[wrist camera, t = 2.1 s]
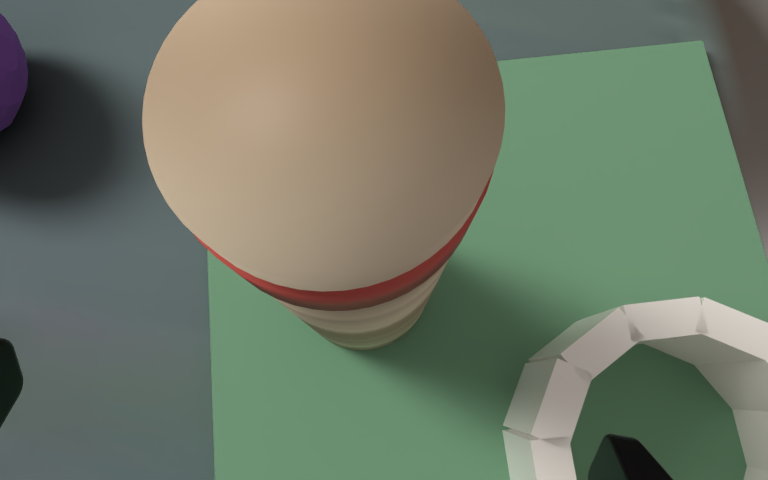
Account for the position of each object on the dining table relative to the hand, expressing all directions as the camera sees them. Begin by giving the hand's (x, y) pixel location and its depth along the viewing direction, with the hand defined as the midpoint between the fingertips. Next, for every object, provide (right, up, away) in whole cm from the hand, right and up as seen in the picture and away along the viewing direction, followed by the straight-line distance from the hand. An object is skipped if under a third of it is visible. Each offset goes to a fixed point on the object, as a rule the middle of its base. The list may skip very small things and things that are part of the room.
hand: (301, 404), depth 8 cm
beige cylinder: (0, +1, +10) cm, 11 cm away
